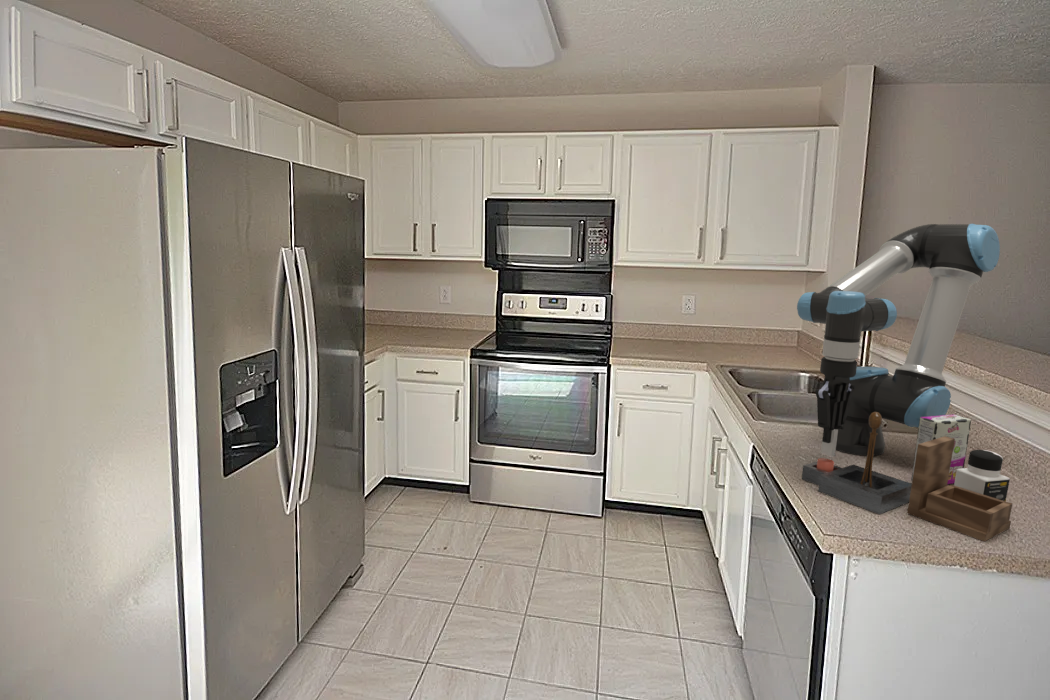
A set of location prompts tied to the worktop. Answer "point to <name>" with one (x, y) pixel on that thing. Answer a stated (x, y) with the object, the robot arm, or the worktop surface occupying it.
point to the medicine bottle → (983, 475)
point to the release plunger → (825, 464)
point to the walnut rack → (952, 496)
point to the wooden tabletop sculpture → (871, 448)
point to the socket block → (859, 487)
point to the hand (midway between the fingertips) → (827, 454)
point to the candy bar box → (950, 428)
